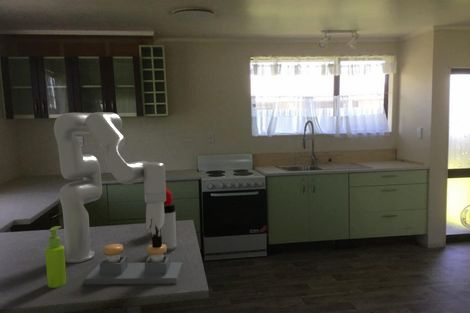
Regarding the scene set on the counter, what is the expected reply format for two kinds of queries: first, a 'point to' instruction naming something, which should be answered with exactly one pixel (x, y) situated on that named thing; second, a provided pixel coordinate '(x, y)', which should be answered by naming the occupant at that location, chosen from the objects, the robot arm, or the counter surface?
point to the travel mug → (169, 227)
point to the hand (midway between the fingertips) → (157, 246)
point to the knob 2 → (157, 253)
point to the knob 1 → (113, 252)
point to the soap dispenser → (55, 261)
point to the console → (135, 272)
